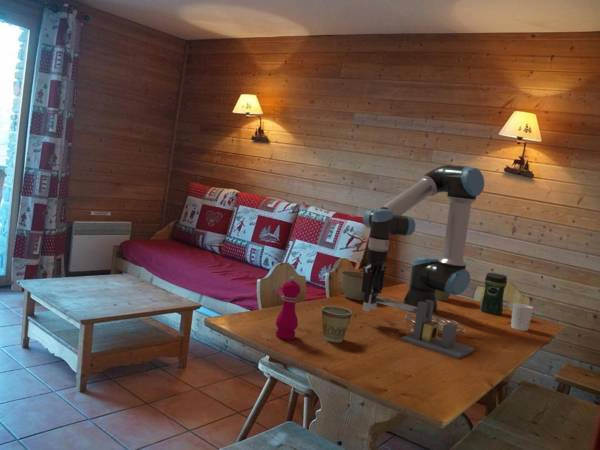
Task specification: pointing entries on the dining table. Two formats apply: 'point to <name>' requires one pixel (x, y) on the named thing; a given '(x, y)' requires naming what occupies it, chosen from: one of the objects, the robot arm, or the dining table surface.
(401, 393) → the dining table surface
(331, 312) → the ceramic cup
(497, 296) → the coffee jar
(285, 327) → the pepper mill
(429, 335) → the spacer
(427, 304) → the shaft stand
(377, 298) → the shaft
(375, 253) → the robot arm
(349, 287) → the planter bowl
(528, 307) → the white cup
